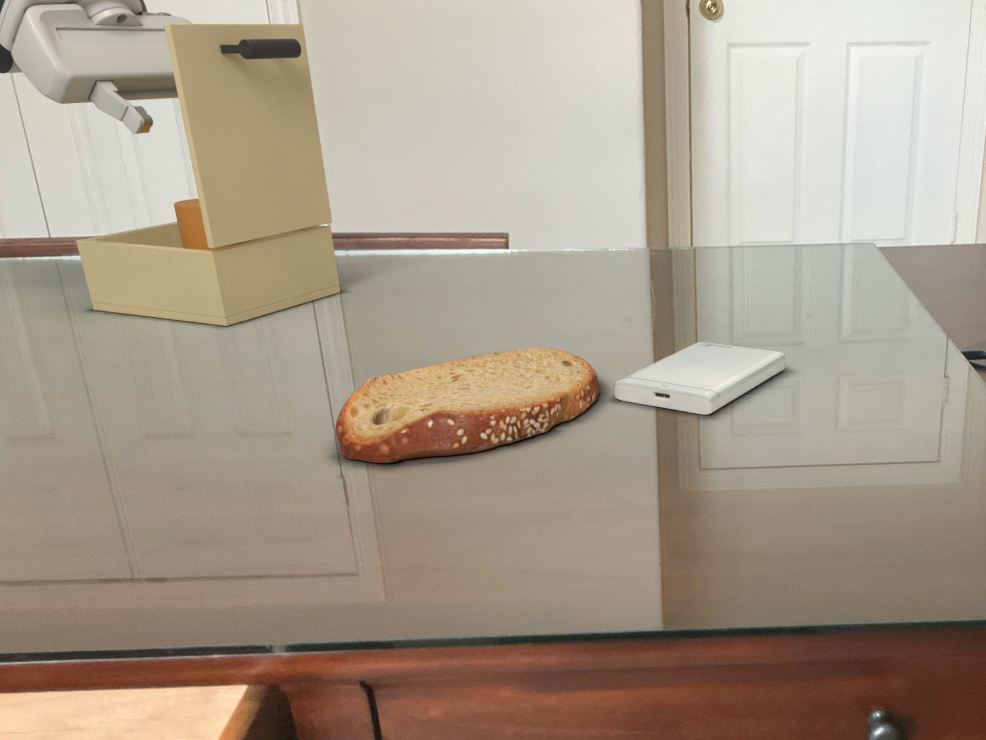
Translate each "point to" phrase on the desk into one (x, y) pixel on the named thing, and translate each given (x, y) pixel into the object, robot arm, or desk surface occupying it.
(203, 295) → the breadbox
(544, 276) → the desk surface
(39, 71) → the robot arm
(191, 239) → the orange cylinder
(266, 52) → the lid
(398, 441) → the slice of bread
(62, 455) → the desk surface
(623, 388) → the hard drive
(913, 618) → the desk surface
